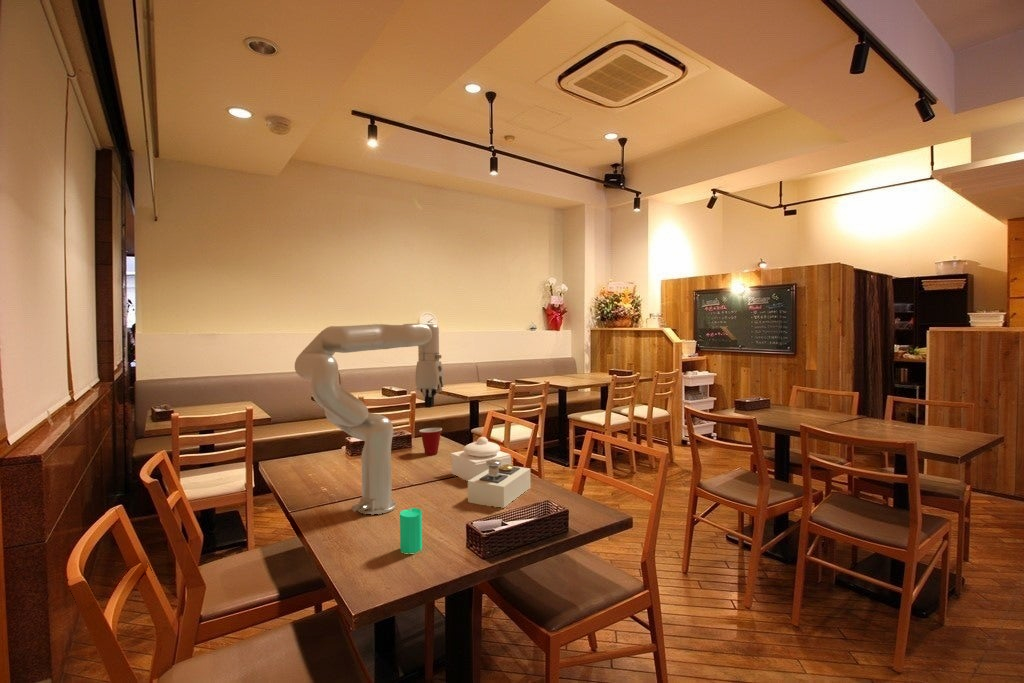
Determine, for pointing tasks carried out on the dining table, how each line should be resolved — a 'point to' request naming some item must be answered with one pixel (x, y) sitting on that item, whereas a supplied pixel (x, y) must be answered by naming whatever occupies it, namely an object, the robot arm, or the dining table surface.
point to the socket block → (499, 487)
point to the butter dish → (476, 458)
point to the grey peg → (493, 468)
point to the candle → (411, 530)
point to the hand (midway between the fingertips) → (429, 407)
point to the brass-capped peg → (506, 467)
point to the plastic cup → (431, 440)
